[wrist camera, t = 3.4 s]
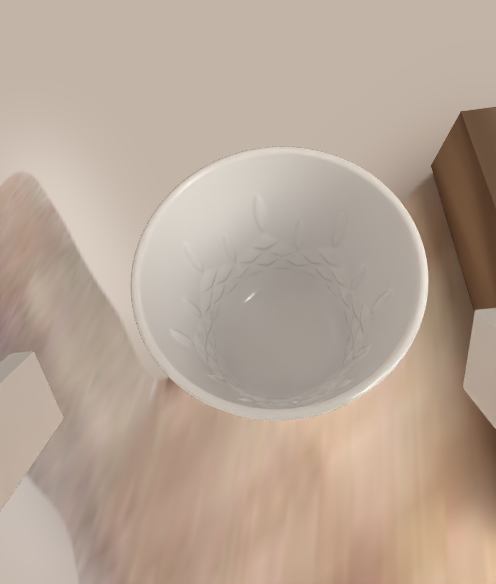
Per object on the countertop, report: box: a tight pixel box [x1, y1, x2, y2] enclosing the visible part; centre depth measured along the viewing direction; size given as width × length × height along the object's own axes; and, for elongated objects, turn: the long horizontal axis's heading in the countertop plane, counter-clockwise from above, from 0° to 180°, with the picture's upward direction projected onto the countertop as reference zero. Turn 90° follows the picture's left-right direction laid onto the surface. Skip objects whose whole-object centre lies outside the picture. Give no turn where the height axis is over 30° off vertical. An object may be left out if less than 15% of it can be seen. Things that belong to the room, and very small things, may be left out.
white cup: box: [131, 147, 428, 421], centre depth 14 cm, size 8×8×10 cm
